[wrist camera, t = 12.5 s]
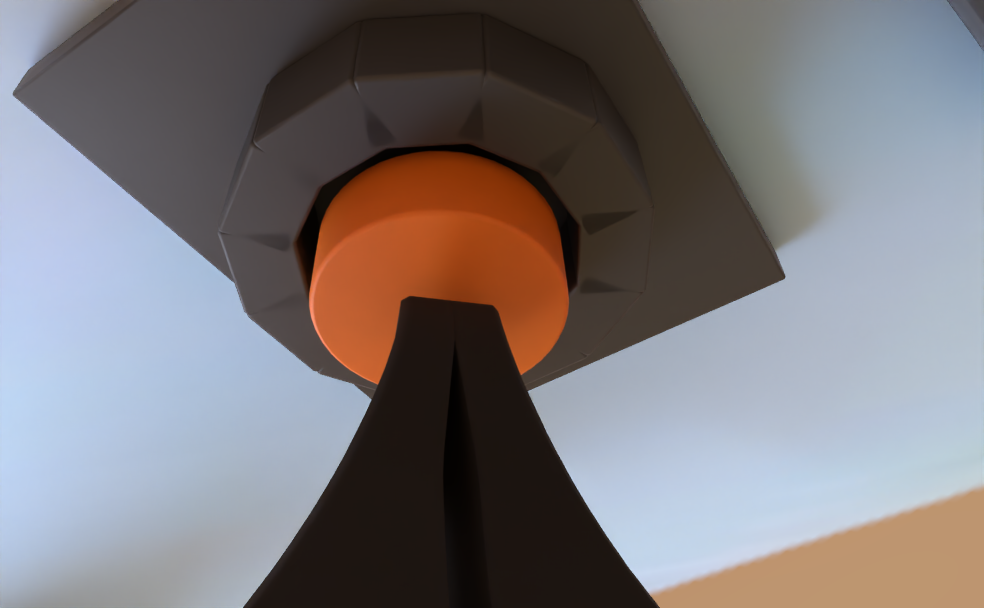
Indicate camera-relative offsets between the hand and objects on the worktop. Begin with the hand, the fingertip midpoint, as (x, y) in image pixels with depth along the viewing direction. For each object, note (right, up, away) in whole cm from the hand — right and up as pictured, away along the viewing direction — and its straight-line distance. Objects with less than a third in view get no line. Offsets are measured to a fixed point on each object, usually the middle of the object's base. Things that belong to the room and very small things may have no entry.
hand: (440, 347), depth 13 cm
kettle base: (0, +3, +3) cm, 4 cm away
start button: (0, +2, +2) cm, 2 cm away
